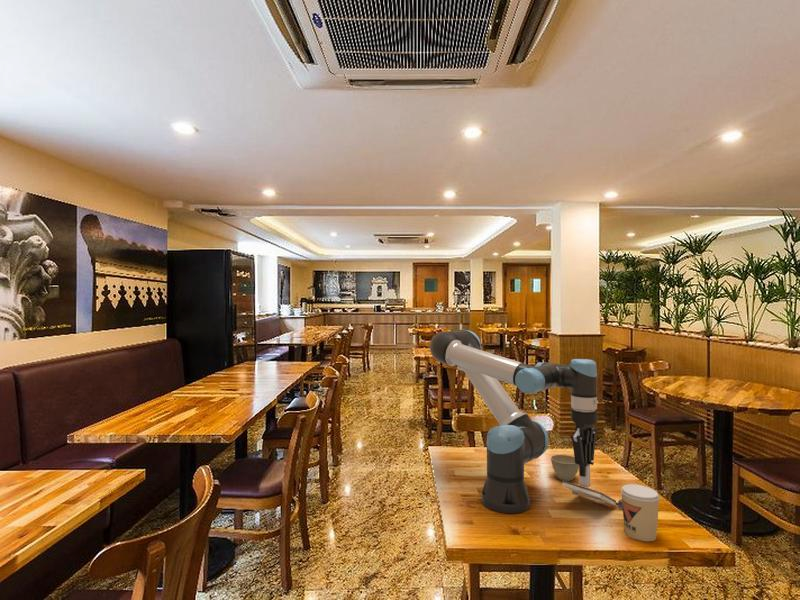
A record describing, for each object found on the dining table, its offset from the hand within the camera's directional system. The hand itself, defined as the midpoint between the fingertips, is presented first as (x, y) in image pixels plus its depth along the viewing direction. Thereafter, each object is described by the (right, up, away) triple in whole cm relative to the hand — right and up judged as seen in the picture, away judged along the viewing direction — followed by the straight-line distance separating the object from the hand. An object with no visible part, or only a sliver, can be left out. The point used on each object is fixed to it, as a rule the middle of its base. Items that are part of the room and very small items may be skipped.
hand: (584, 485), depth 135 cm
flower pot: (+3, -8, +24) cm, 26 cm away
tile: (+2, -3, +2) cm, 4 cm away
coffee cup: (+9, -8, -14) cm, 19 cm away
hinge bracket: (+7, -8, +6) cm, 12 cm away
